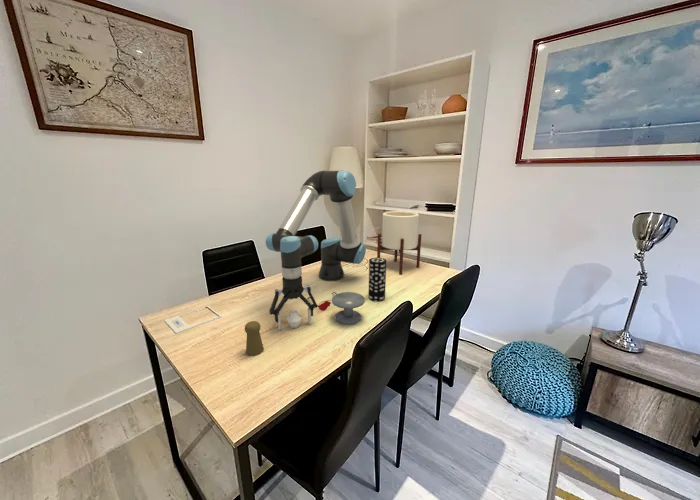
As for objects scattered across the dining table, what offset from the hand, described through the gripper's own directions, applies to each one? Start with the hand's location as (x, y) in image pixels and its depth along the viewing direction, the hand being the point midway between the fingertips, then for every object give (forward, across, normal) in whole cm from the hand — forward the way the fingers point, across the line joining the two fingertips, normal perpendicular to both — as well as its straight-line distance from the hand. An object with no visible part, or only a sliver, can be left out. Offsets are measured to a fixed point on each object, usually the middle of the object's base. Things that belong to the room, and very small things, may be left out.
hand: (294, 325), depth 117 cm
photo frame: (+1, -40, +20) cm, 45 cm away
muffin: (0, 0, 0) cm, 0 cm away
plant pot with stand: (0, +76, +51) cm, 92 cm away
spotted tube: (0, +43, +13) cm, 45 cm away
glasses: (+1, +18, +17) cm, 25 cm away
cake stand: (0, +23, -1) cm, 23 cm away
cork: (+1, -16, -12) cm, 20 cm away
